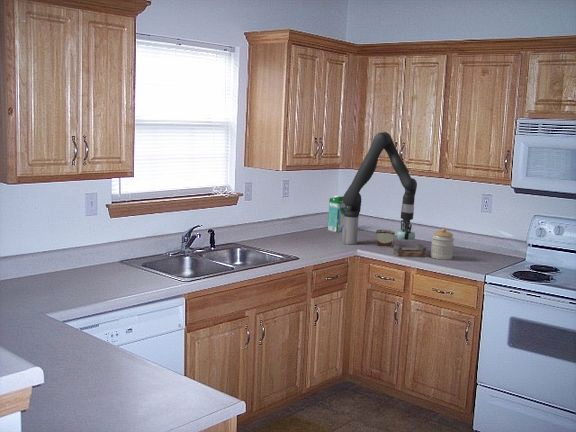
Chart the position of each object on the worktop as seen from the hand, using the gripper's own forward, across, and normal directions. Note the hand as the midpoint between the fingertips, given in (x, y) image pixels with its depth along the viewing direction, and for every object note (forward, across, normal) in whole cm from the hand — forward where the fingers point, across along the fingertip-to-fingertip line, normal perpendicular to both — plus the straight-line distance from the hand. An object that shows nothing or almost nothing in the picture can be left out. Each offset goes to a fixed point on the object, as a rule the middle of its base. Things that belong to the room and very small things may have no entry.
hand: (404, 238), depth 406 cm
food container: (+8, -16, -8) cm, 19 cm away
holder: (+8, +10, 0) cm, 13 cm away
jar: (+8, +16, +18) cm, 25 cm away
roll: (-2, 0, 0) cm, 2 cm away
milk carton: (+9, -65, -28) cm, 71 cm away
